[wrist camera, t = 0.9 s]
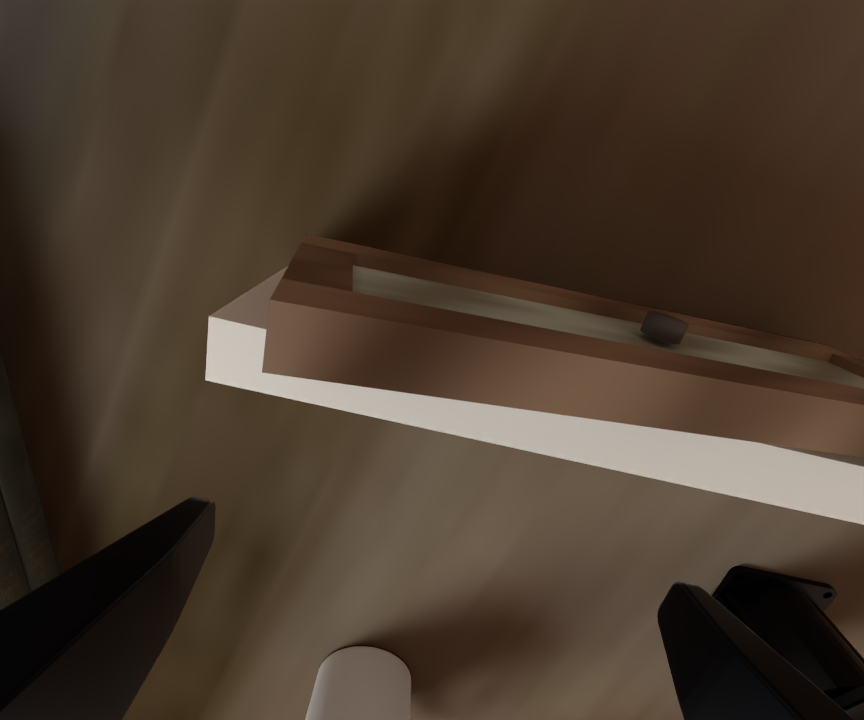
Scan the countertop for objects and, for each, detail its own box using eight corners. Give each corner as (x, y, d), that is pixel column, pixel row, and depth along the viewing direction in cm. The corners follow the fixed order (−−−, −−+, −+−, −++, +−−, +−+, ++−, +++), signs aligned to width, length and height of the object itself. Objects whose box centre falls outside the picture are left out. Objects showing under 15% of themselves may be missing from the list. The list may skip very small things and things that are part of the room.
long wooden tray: (833, 392, 22) (1034, 506, 14) (769, 490, 24) (913, 632, 17) (294, 261, 20) (208, 316, 12) (279, 382, 22) (199, 488, 15)
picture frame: (832, 335, 20) (1057, 424, 13) (807, 375, 20) (1009, 478, 14) (308, 219, 14) (272, 275, 8) (300, 278, 15) (261, 372, 9)
